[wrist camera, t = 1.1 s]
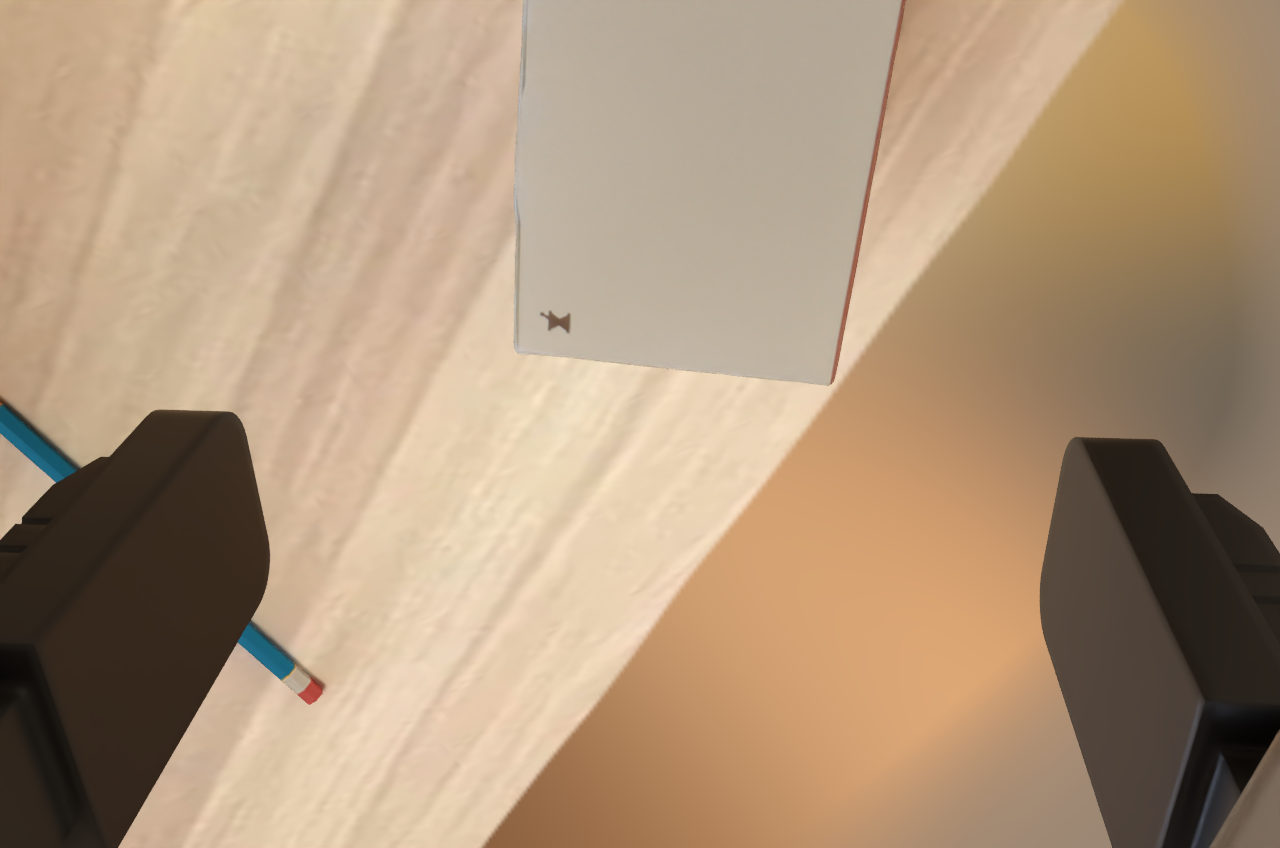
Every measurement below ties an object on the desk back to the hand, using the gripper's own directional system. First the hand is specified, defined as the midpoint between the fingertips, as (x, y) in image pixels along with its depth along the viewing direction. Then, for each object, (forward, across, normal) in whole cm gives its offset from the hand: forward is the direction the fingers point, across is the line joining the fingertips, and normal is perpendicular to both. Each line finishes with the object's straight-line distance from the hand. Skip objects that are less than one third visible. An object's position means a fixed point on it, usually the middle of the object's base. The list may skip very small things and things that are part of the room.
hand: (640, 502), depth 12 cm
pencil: (+24, +20, +18) cm, 36 cm away
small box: (+23, 0, 0) cm, 23 cm away
